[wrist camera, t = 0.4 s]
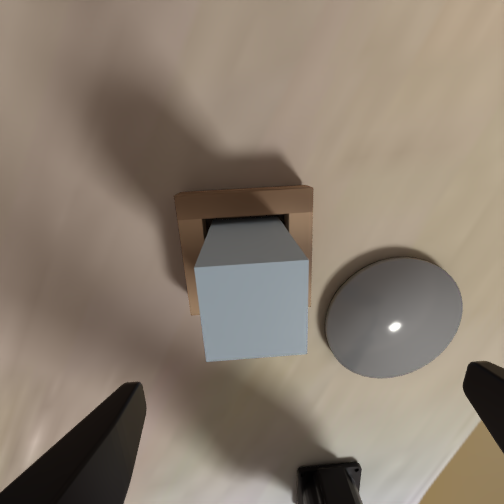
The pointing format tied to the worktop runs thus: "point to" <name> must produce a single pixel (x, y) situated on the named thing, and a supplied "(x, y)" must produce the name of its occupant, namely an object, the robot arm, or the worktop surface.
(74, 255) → the worktop surface
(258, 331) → the slate block
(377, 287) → the charcoal trivet
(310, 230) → the walnut bay
